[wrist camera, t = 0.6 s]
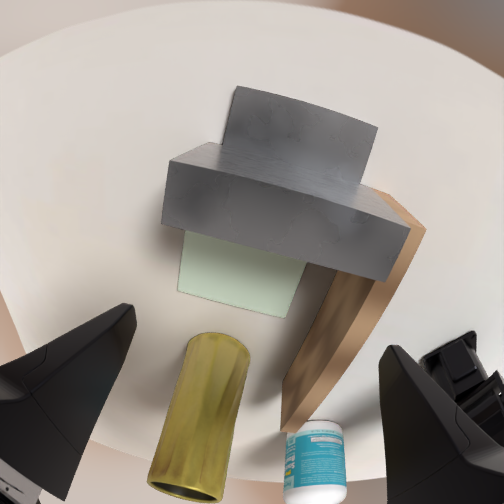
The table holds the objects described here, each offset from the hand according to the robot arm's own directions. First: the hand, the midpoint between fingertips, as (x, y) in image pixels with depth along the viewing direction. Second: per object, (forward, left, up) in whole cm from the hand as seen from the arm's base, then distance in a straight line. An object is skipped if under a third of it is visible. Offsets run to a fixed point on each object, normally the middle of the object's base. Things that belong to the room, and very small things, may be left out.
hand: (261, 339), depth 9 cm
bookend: (+3, -3, -12) cm, 12 cm away
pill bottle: (-28, +9, -12) cm, 32 cm away
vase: (-9, +11, -12) cm, 19 cm away
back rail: (-9, 0, -12) cm, 15 cm away
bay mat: (-2, +4, -12) cm, 12 cm away
